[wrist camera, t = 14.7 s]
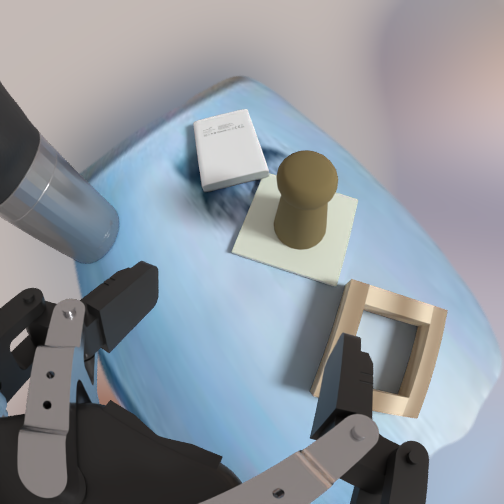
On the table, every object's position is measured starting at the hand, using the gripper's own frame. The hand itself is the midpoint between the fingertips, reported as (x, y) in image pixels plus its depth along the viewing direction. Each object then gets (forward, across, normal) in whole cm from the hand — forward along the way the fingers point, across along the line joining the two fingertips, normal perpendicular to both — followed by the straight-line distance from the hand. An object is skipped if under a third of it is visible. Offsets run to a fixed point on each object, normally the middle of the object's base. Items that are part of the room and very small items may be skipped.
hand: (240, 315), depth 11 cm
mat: (+22, 0, +4) cm, 23 cm away
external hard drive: (+28, +12, -1) cm, 30 cm away
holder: (+14, -13, +12) cm, 23 cm away
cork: (+22, 0, +4) cm, 22 cm away
